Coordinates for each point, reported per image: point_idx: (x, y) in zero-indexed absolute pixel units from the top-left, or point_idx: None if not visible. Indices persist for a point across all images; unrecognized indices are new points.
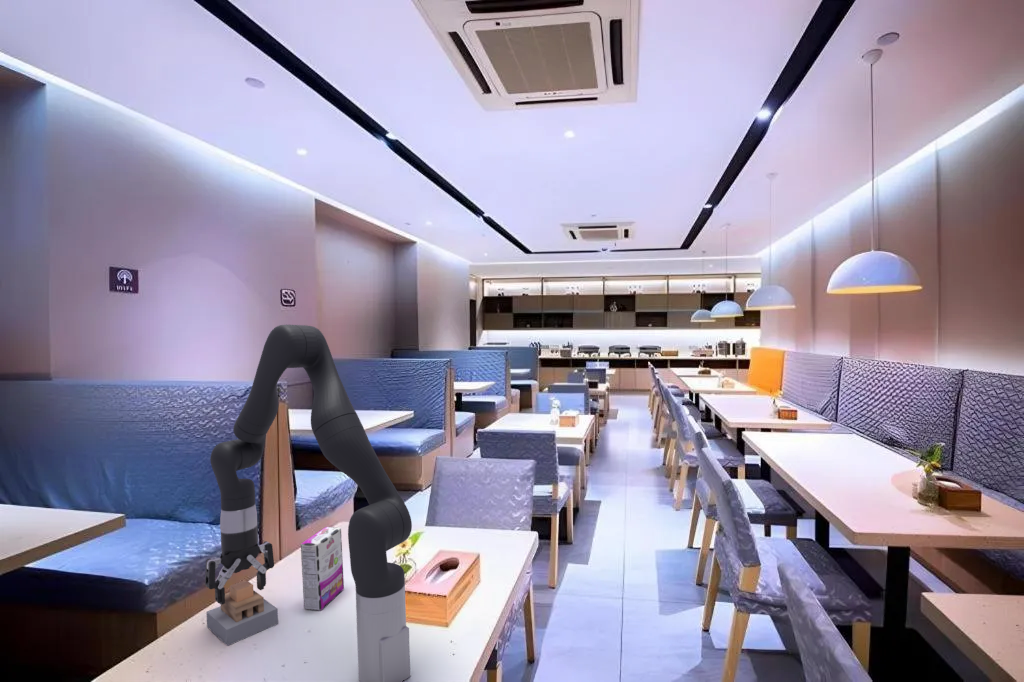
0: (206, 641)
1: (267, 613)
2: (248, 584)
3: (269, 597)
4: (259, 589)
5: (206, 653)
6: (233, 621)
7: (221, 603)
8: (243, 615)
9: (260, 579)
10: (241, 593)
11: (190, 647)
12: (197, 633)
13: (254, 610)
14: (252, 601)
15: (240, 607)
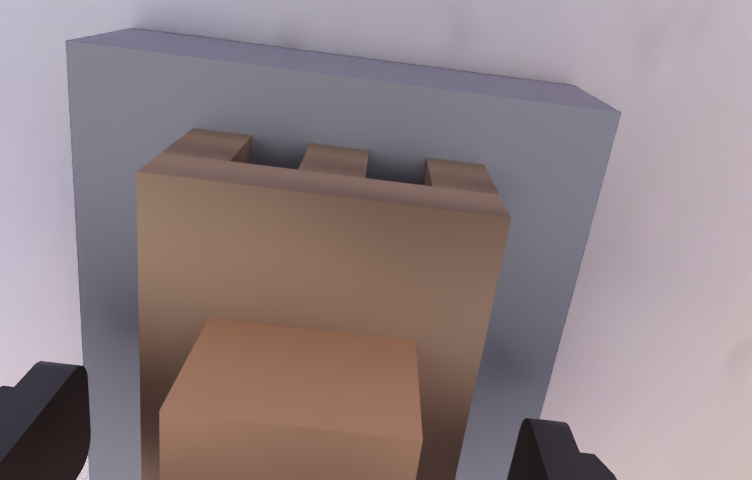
0: (604, 293)
1: (187, 56)
2: (202, 476)
3: None
4: (86, 397)
5: (715, 130)
6: None
7: (567, 433)
8: None
9: (3, 461)
10: (353, 389)
11: (705, 314)
12: None
13: None
14: (291, 190)
15: (449, 206)
